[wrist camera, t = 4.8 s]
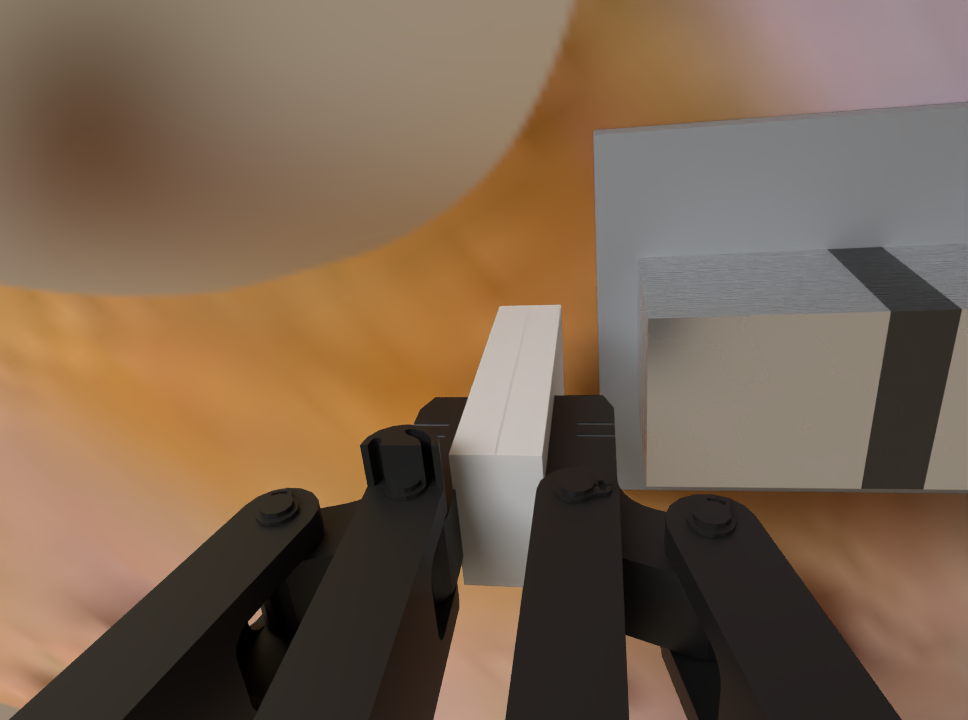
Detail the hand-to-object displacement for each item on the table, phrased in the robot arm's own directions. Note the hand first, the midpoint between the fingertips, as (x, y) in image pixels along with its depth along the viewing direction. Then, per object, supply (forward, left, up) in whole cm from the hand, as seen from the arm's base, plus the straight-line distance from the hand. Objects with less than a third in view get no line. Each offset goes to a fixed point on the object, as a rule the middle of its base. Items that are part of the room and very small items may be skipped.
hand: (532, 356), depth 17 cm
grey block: (0, +8, -1) cm, 8 cm away
